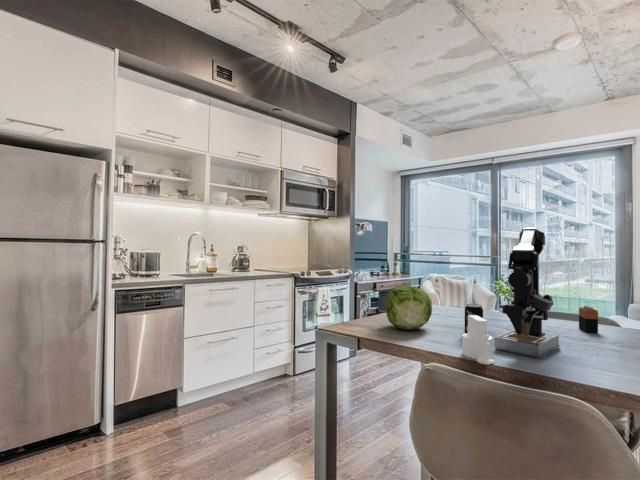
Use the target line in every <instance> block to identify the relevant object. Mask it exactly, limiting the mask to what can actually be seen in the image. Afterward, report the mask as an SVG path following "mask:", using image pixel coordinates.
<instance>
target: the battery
mask: <svg viewBox="0 0 640 480" xmlns="http://www.w3.org/2000/svg"><path fill="white" fill-rule="evenodd" d="M578 329H579V330H580V331H582V332H583V333H584V332H585V333H588V334H590V333H591V334H598V333H599V311H598V310H597V309H595V308H594V307H592V306H588V305H584V306H583V307H578Z"/></svg>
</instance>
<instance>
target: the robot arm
mask: <svg viewBox="0 0 640 480" xmlns="http://www.w3.org/2000/svg"><path fill="white" fill-rule="evenodd" d="M518 237H519V238H518V243H519V244H518V245H515V246H514V247H513V248H512V250H511V251H510V252H509V258H508V265H507V267H508V268H507V269H508V270H512V272H511V273H510V274H509V276H508V278H507V279H508V285H510V287H511V290H510V291H511V293H513V300H511V301H510V302H511V303H508V304H504V306H502V308H501V310H502V314H505V315H506V316H507V317H508V319H509V321H510V322H511V325H512V326H513V329H515V331H516V333H517V334H519V335H521V332H522V326H523V322H529V336H534V337H541V336H543V335H546V332H544V331H543V321H549V314H548V313H549V312H550V311H551V309H552V306H554V300H553V297H552V295H549V294H545V295H543V296H542V295H541V293H540V255H541V253H542V252H543V251H544V246H546V235H545V232H543V231H540V230H539V229H538V228H536V227H525V228H522V229H521V231H520V232H519V236H518Z"/></svg>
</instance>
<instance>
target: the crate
mask: <svg viewBox="0 0 640 480" xmlns="http://www.w3.org/2000/svg"><path fill="white" fill-rule="evenodd" d="M503 338H508V339H513V340H518V341H524V342H529V343H534V344H536V343H538V342H540V341H542V340H544V339H545V338H544V337H541V336H534V335H529V322H523V326H522V332H521V335H519V334H517V333H510V334H508V335H505V336H503Z"/></svg>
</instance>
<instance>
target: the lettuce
mask: <svg viewBox="0 0 640 480" xmlns="http://www.w3.org/2000/svg"><path fill="white" fill-rule="evenodd" d="M432 305H433V304H432V301H431V299H430V297H429V295H428V294H427V293H426V292H424V291H423V290H422V289H420V288H418V287H415V286H411V285H406V284H404V285H401V284H399V285H397V286H395V287H392V289H391V290H390V291H389V293H388V294H387V297H386V300H385V310H384V311H385V314H386V317H387V319H388V322H389V323H390V324H391V325H392V326H394V327H395V328H397V329H402V330H405V331H406V330H409V331H411V330H416V329H419V328H422V327H423V326H425V325H426V324H427V323H428V322H429V320H430V318H431V316H432V314H433V306H432Z"/></svg>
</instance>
